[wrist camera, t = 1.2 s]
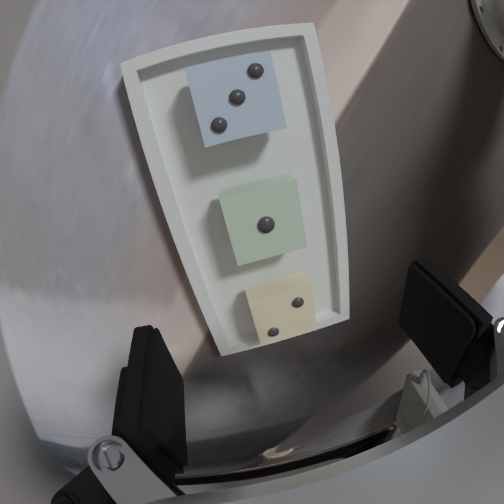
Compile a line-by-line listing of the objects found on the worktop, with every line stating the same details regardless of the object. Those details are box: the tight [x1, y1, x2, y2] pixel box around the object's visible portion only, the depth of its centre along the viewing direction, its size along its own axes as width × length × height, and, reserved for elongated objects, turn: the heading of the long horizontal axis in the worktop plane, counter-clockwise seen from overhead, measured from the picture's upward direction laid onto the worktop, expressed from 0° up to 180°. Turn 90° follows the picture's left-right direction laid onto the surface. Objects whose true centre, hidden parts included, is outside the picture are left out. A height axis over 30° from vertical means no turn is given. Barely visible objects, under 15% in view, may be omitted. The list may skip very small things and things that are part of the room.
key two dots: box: [245, 272, 317, 346], centre depth 26 cm, size 5×5×2 cm
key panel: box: [120, 23, 349, 356], centre depth 24 cm, size 14×28×2 cm, turn 12°
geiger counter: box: [395, 368, 448, 434], centre depth 40 cm, size 14×6×25 cm
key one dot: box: [218, 173, 307, 266], centre depth 22 cm, size 5×5×2 cm
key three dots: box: [185, 51, 287, 147], centre depth 17 cm, size 5×5×2 cm
